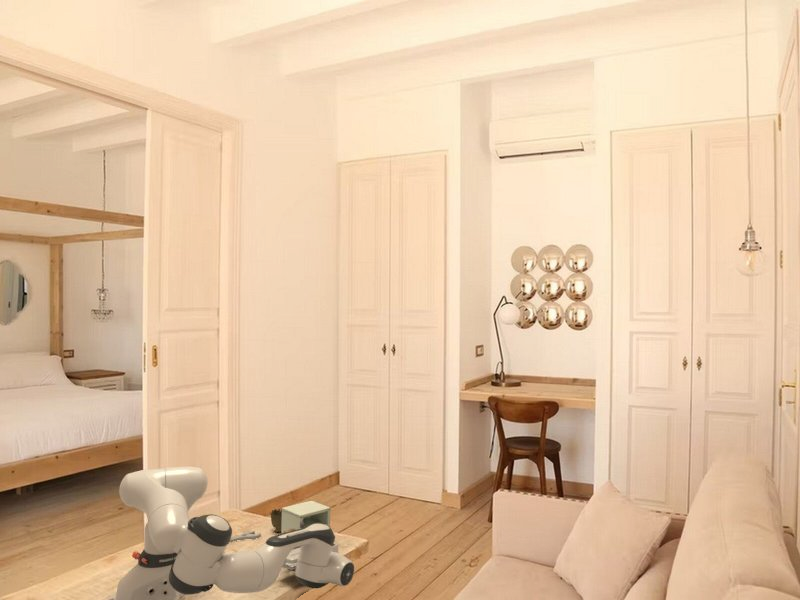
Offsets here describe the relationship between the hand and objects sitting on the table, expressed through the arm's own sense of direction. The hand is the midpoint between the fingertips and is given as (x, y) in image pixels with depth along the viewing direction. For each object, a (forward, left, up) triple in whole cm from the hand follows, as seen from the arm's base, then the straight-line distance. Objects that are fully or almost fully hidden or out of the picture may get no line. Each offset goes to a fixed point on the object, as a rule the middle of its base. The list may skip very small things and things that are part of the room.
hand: (293, 547), depth 224 cm
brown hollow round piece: (+16, +32, -7) cm, 36 cm away
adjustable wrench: (-4, +36, -7) cm, 37 cm away
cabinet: (+17, +16, -6) cm, 24 cm away
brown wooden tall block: (0, 0, -6) cm, 7 cm away
